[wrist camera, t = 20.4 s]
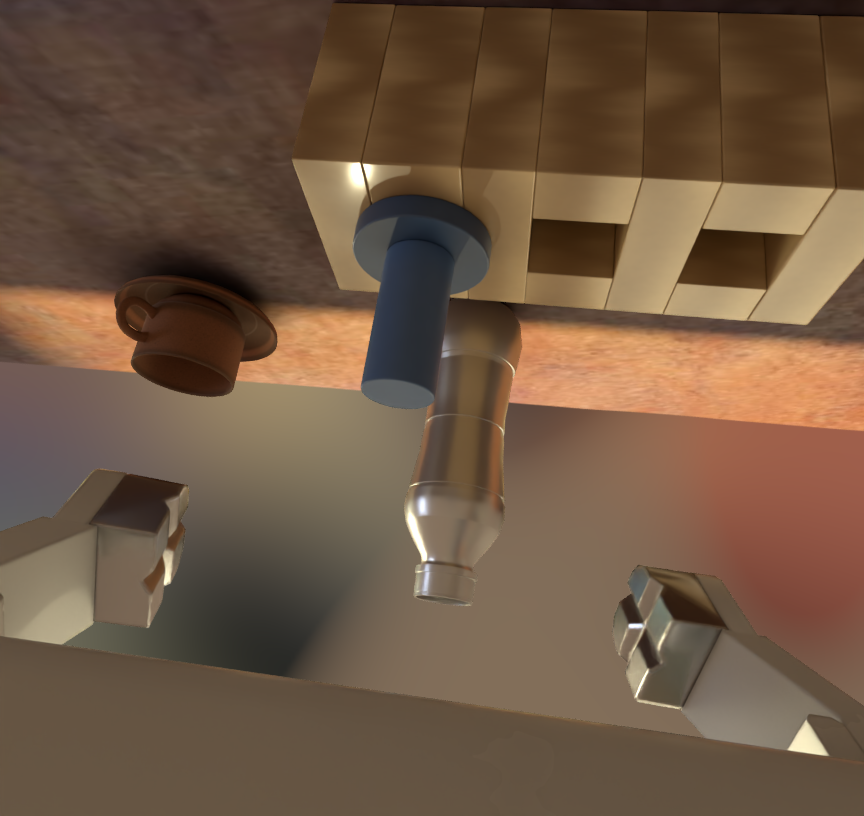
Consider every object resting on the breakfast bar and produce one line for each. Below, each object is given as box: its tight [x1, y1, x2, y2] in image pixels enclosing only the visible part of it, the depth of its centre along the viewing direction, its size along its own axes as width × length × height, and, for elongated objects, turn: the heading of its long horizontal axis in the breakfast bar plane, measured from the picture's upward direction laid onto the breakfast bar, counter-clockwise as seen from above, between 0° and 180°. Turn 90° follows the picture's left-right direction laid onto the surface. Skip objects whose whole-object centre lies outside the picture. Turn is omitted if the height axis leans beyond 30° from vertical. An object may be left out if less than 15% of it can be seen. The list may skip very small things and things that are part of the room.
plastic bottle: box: [404, 297, 522, 606], centre depth 45 cm, size 6×7×20 cm
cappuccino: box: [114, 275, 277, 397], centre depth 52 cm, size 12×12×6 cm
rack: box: [291, 3, 864, 325], centre depth 29 cm, size 21×9×8 cm, turn 94°
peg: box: [352, 195, 492, 409], centre depth 28 cm, size 6×6×13 cm
